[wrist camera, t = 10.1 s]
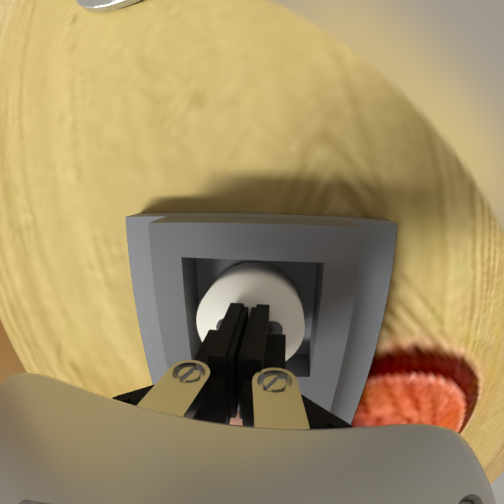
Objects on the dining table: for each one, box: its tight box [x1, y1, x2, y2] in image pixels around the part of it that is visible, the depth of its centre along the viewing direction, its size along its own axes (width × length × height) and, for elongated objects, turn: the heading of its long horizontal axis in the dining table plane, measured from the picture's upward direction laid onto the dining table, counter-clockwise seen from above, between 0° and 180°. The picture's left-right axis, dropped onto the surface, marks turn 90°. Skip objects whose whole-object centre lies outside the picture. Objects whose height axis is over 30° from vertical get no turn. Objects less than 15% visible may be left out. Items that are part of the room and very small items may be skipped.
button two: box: [196, 263, 305, 361], centre depth 13 cm, size 5×5×2 cm
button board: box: [126, 213, 398, 425], centre depth 16 cm, size 27×14×4 cm, turn 0°
